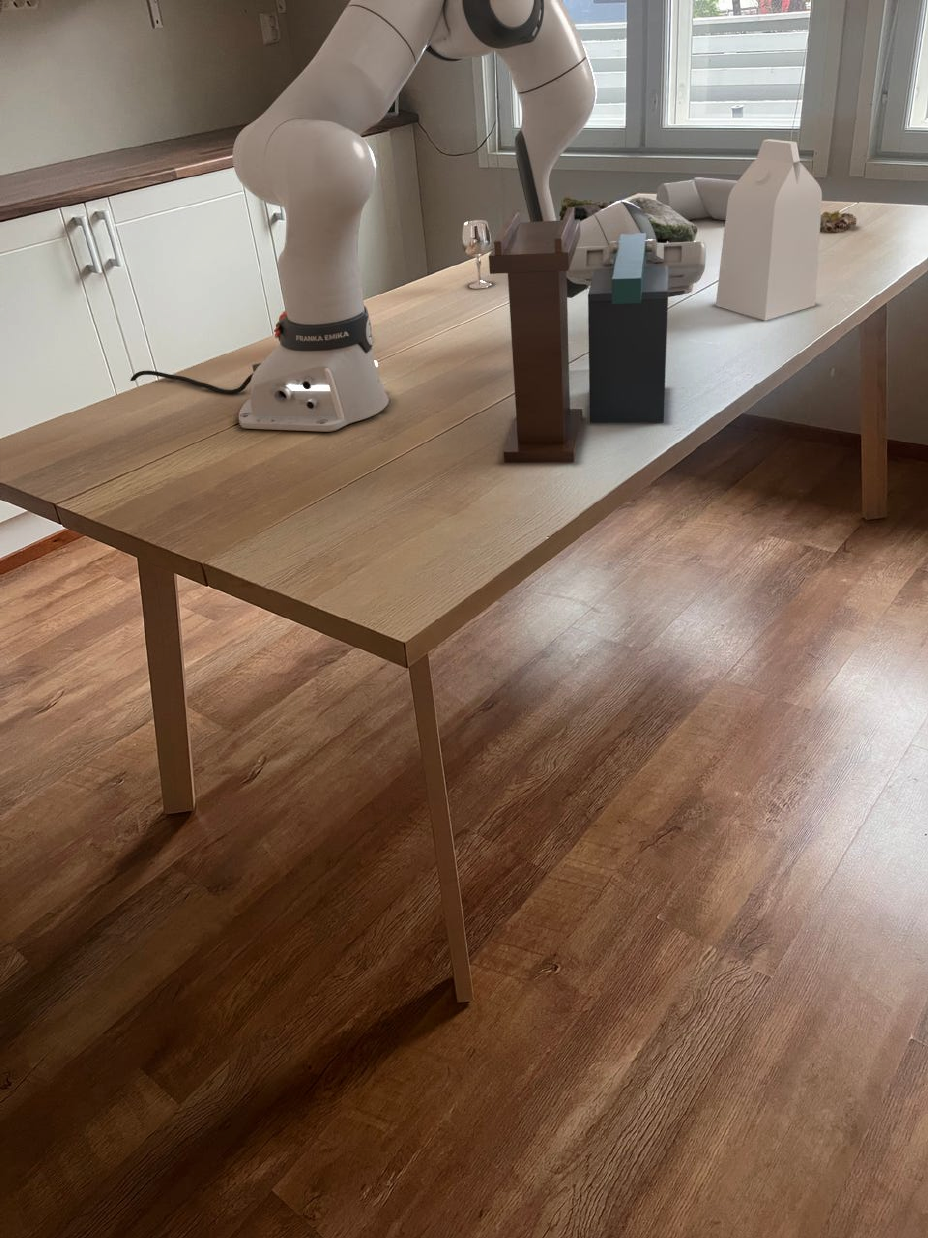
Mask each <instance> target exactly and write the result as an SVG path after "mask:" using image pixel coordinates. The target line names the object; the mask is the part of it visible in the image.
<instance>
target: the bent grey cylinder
mask: <svg viewBox="0 0 928 1238" xmlns="http://www.w3.org/2000/svg"><path fill="white" fill-rule="evenodd" d="M737 181H738V180H734V179H724V178H723V179H722V178H713V177H699V176H695V177H694V178H693V179H690V180H689V179H687V180H680V181H675V182H667V183H661V184H660V185H659V186H658V188H657V191H656V199H655V200H657V201H659V202H660V203H662V204H664V205H666V206H669V207H671V209H672V210H674V211H675V212H677V213H678V214H679V215H681V216H682V217H684V218H685V219H686V220H688V221H689V220H695V219H696V220H697V219H704V218H711V217H712V218H713V219H715V220H720V221H721V220H722V221H726V212H727V204H728V197H729V194H730V192H731V190H732V188H733V187H734V185H735V184H736V183H737Z"/></svg>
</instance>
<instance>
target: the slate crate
mask: <svg viewBox="0 0 928 1238" xmlns="http://www.w3.org/2000/svg"><path fill="white" fill-rule="evenodd" d="M613 271H614V268H603V269H594V273H593V277H592V281H591V285H590V286H589V288H588V293H587V313H588V314H587V321H588V322H587V327H588V330H587V331H588V382H589V383H588V396H589V399H588V401H589V406H588V407H589V424H617V423H618V424H619V423H620V424H621V423H624V424H625V423H628V424H629V423H631V424H632V423H633V424H634V423H635V424H636V423H664V422H665V399H666V398H665V397H666V371H667V369H666V367H667V342H668V341H667V338H668V310H669V309H668V308H669V297H668V280H669V266H651V267H644V276H643V286H642V296H641V303H632V304H612V276H613Z"/></svg>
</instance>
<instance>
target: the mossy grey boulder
mask: <svg viewBox="0 0 928 1238" xmlns="http://www.w3.org/2000/svg"><path fill="white" fill-rule="evenodd" d="M560 202H561V203H560V207H561V208H560V211H559V215H558V216H559V217H560V218H559V221H560V220H563V218H564V216H565V213H566V211H567V209H568V207H574V220H579V219H580V222H581V221H582V220H584V219H586V218H588V217H590V216H592V215H594V214H595V213H597V212H599V211H600V210H602V209H604V208H606V207H608V206H610V205H612V204H614V203H616V202H617V201H616V200H610V201H608V202H603V203H601V202H600V201H594V200H588V199H585V200H582V201H581V200H578V199H575V198H571V197H564V199H563V200H561V201H560ZM627 202H629V203H632V204H634V205H636V206H638V207H639V208H641V209H642V210H643V211H644V213H645V214H646V216H647V218H648V219H649V221H650V223H651V225H652V228H653V230H654V233H655V235H656V238H657V242H658V243H674V242H694V241H696V239H697V238H696V237H697V235H698V234H697V233H698V227H697V225H696V224H695V223H693V222H691V221H689V220H686V219H685V218H684V217H682V216H681V215H679V214H678V213H677V212H675V211H674V210H672V209H671V207H669V206H666V205H664V204H662V203H660V202H659V201H657V200H656V199H653V198H650V197H643V196H639V197H635V198H632V199H630V200H629V201H627Z"/></svg>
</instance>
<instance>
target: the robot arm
mask: <svg viewBox="0 0 928 1238" xmlns="http://www.w3.org/2000/svg"><path fill="white" fill-rule="evenodd" d="M424 52H425V53H426V54H428V55H429V56H431V57H433V58H435V59H437V60H440V61H444V62H458V61H462V60H463V59H464V60H465V59H472V58H480V57H484V56H488V55H490V54H492V53H494V52H495V53H496V54H497V56H499V57H500V58H501V59H502V60H503V62H504V64H505V65H506V66H507V69H508V72H509V74H510V77H511V80H512V83H513V85H514V88H515V90H516V94H517V97H518V99H519V102H520V107H521V124H520V125H521V126H520V129H519V131H518V132H517V134H516V136H515V137H514V153H515V159H516V164H517V168H518V169H517V170H518V173H519V180H520V183H521V187H522V192H523V196H524V201H525V205H526V210H527V215H528V218H529V222H540V221H557V218H556V214H555V213H556V212H555V209H554V204H553V199H552V194H551V190H550V175H551V173H552V169H553V167H554V165H555V164H556V163H557V161H558V159H559V158H560V157H561V155H562V154H563V153H564V151H566V149H567V148H568V147H569V146H570V145H571V144H572V143H573V142H574V140H575V139H576V138H578V136H579V134H580V133H581V132H582V131H583V130H584V128H585V127H586V125H587V123H588V121H589V120H590V118H591V116H592V114H593V111H594V109H595V105H596V102H597V101H596V100H597V92H598V89H597V84H596V80H595V79H596V78H595V76H594V71H593V68H592V65H591V62H590V59H589V57H588V54H587V51H586V47H585V45H584V43H583V40H582V37H581V36H580V33H579V31H578V28H577V27H576V24H575V22H574V20H573V18H572V16H571V15H570V13H569V11H568V9H567V7H566V6H565V4H564V2H563V0H350V1H349V2H348V4H347V5H346V7H345V9H344V10H343V12H342V13H341V14H340V16H339V17H338V19H337V21H336V23H335V25H334V26H333V28H332V29H331V31H330V32H329V33H328V35H327V37H326V38H325V40H324V42H323V43H322V45H321V47H320V48H319V50H318V51H317V53H316V54H315V56H313V58H312V59H311V60H310V62H309V63H308V65H307V66H306V67H305V68H304V69H303V70H302V72H300V74H299V75H298V76H297V77H296V78H295V79H294V80H293V81H292V82H291V83H290V84H289V85H288V86H287V87H286V88H285V90H283V92H282V93H281V94H280V95H279V96H278V97H277V98H276V99H275V100H274V101H273V102H272V104H271V105H270V106H268V108H267V109H266V110H265V111H264V112H263V113H262V114H261V115H260V116H259V117H258V118H257V119H255V120H254V121H252V122H251V123H249V124H248V125H246V126H245V127H244V128H243V129H242V130H241V131H240V132H238V134H237V136H236V138H235V140H234V143H233V146H232V147H233V148H232V154H231V156H232V157H231V158H232V166H233V169H234V173H235V175H236V177H237V180H238V181H239V183H240V184H241V185H242V186H243V187H244V189H246V190H247V191H248V192H250V193H251V194H252V195H253V196H254V197H256V198H258V199H259V200H260V201H263V203H267V204H268V205H271V206H277V207H281V208H283V209H284V212H285V213H284V214H285V221H286V222H285V241H284V247H283V250H282V251H281V253H280V255H279V256H278V260H277V270H278V275H279V280H280V285H281V290H282V296H283V301H284V307H285V310H284V311H283V312H281V314H280V316H279V317H278V321H277V322H276V324H275V329H273V333H274V338H275V339H278V341H279V344H278V345H277V346H276V347H275V348H274V349H273V350H272V351H270V353H269V354H268V356H266V358H264V360H263V361H262V362H259V363H254V364H252V365H251V367H252V370H253V371H252V372H253V373H251V374H250V375H248V377H246V379H245V380H244V381H243V383H242V384H241V385H239V387H237V388H233V389H224V388H220V387H217V386H216V385H213V384H209V383H206V382H202V381H198V380H195V379H193V378H190V377H186V376H182V375H176V374H170V373H166V372H161V371H157V370H140V371H137V372H135V373H134V374H133V375H132V376H131V378H130V380H129V381H130V382H135V381H136V380H137V379H138V378H139V377H141V376H155V377H160V378H165V379H168V380H169V379H170V380H174V381H175V380H176V381H181V382H185V383H188V384H191V385H193V386H197V387H200V388H204V389H205V388H206V389H208V390H211V391H213V392H216V393H220V394H223V395H224V394H225V395H236V394H239V393H241V392H243V391H244V390H245V389H246V388H247V386H248V385H249V398H248V399H247V400H246V401H245V402H244V403H243V405H242V406H241V408H240V410H239V412H238V423H239V425H240V427H241V428H242V429H251V430H273V431H274V430H275V431H299V432H321V433H322V432H326V433H327V432H334V431H337V430H340V429H342V428H343V427H346V426H347V425H350V424H352V423H356V422H359V421H362V420H366V419H368V418H371V417H373V416H375V415H377V414H379V413H380V412H382V411H383V410H384V409H385V408H387V406H388V405H389V402H390V400H389V397H388V394H387V392H386V390H385V388H384V386H383V382H382V380H381V377H380V374H379V371H378V361H377V360H375V357H374V353H373V346H374V345H373V343H374V339H373V331H372V330H373V329H372V324H371V318H370V315H369V309H368V307H367V306H366V305H365V304H364V302H365V301H364V295H363V288H362V280H361V273H360V265H359V249H358V248H359V247H358V246H359V232H360V224H361V218H362V213H363V209H364V206H365V204H366V203H367V202H368V201H369V200H370V198H371V196H372V194H373V192H374V189H375V186H376V181H377V164H376V159H375V155H374V153H373V151H372V149H371V146H370V145H369V144H368V142H367V141H366V139H364V138H363V137H362V136H361V135H362V134H363V133H365V132H366V131H367V130H369V129H370V128H372V127H374V126H375V125H378V123H380V122H381V121H382V119H383V118H384V117H385V116H386V115H387V113H388V112H389V110H390V108H391V107H392V105H393V104H394V102H395V101H396V99H397V97H398V96H399V94H400V92H401V91H402V89H403V88H404V86H405V84H406V83H407V82H408V80H409V78H410V77H411V75H412V73H413V72H414V70H415V68H416V67H417V65H418V63H419V61H420V60H421V58H422V56H423V54H424ZM615 202H616V203H614V204H612V205H610V206H608V207H606V208H604V209H602V210H600V211H599V212H597V213H595V214H594V215H592V216H590V217H588V218H586V219H584V220H582V221H581V222H580V238H579V241H578V244H577V247H576V250H575V253H574V256H573V259H572V262H571V265H570V268H569V271H567V299H568V298H569V299H573V298H574V297H576V296H577V295H579V294H581V293H583V292H585V290H587V289H590V285H591V281H592V277H593V273H594V269H603V268H614V266H615V261H616V256H617V251H618V246H619V241H620V236H621V234H637V233H646V247H645V256H646V257H645V267H651V266H669V280H668V298H671V297H677V296H683V295H688V294H690V293H692V292H693V290H694V284H697V283H698V282H699V281H700V280H701V278H702V277H703V274H704V273H705V269H706V260H707V259H706V258H707V244H706V242H704V241H701V240H694V242H674V243H669V242H666V243H658V242H657V238H656V235H655V233H654V230H653V228H652V225H651V223H650V221H649V219H648V218H647V216H646V214H645V213H644V211H643V210H642V209H641V208H639V207H638V206H636V205H634V204H632V203H629V202H628V201H627V200H621V199H620V200H619V201H615Z"/></svg>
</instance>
